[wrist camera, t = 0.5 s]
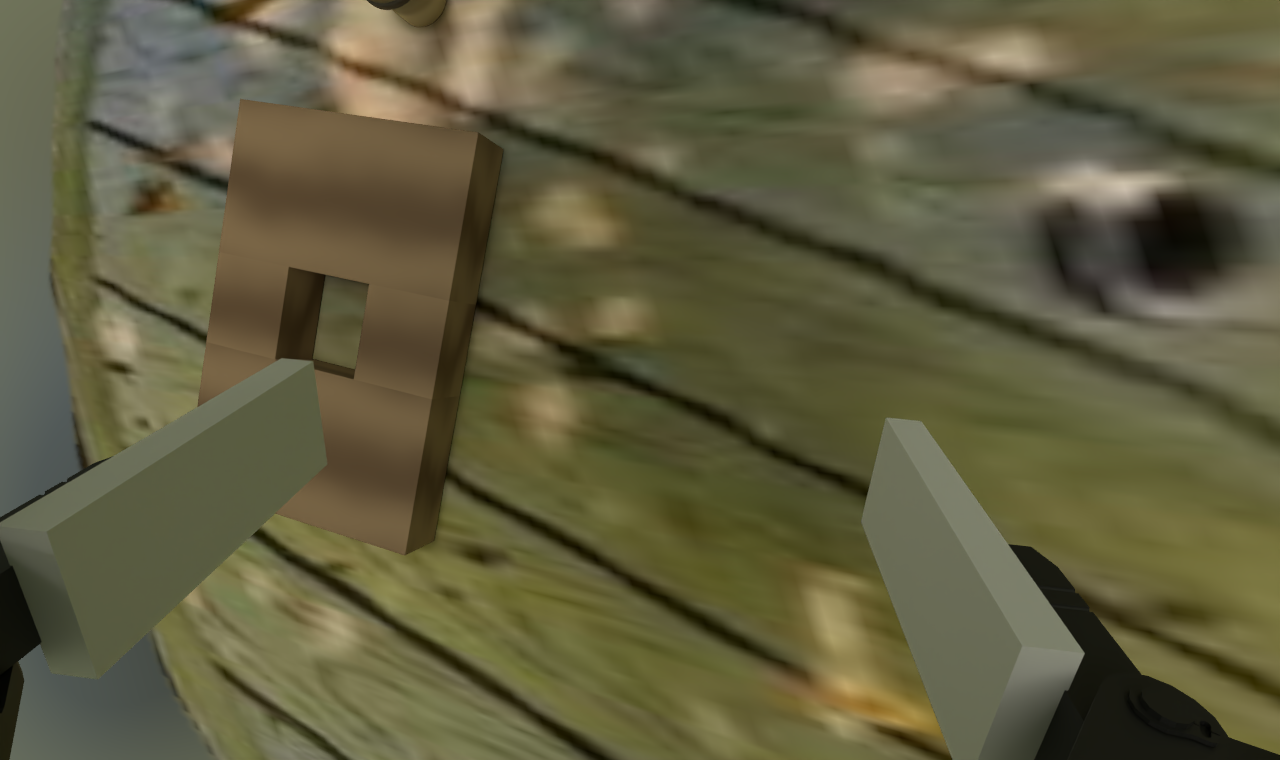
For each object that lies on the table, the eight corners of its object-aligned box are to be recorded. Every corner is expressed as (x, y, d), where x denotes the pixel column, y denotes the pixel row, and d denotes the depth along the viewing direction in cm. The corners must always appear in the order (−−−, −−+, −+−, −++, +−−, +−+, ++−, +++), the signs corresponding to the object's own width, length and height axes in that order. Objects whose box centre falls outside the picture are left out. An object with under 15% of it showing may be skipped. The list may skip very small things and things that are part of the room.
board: (279, 116, 42) (240, 98, 39) (503, 149, 38) (478, 132, 35) (227, 476, 44) (186, 484, 41) (434, 540, 40) (404, 555, 37)
